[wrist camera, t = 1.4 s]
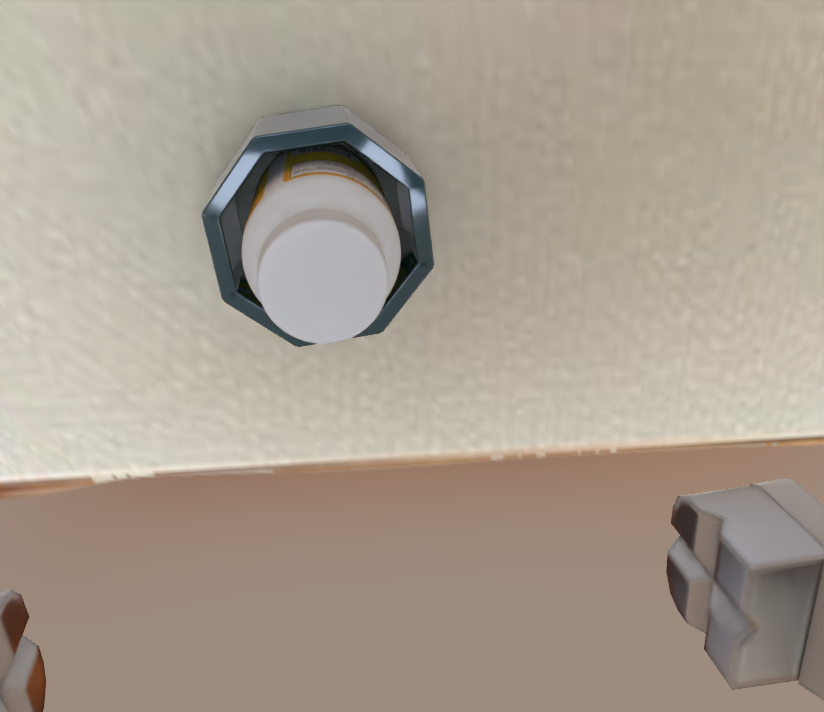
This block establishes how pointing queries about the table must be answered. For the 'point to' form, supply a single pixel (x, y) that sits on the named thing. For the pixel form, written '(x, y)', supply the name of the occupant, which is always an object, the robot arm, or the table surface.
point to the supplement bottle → (320, 244)
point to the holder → (304, 133)
